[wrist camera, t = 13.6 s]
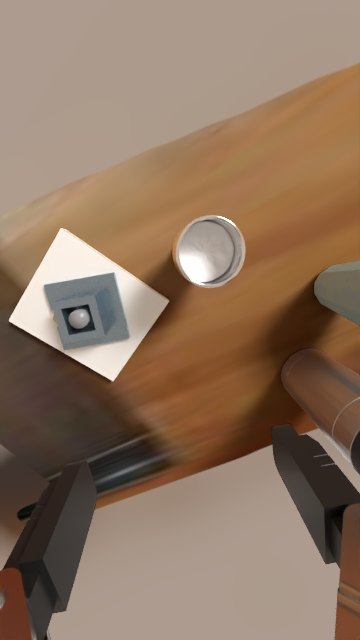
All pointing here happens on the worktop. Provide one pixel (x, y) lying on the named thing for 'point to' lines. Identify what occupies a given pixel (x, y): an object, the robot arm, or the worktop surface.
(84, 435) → the worktop surface
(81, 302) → the flange
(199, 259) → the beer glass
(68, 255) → the post base
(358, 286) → the disposable coffee cup
